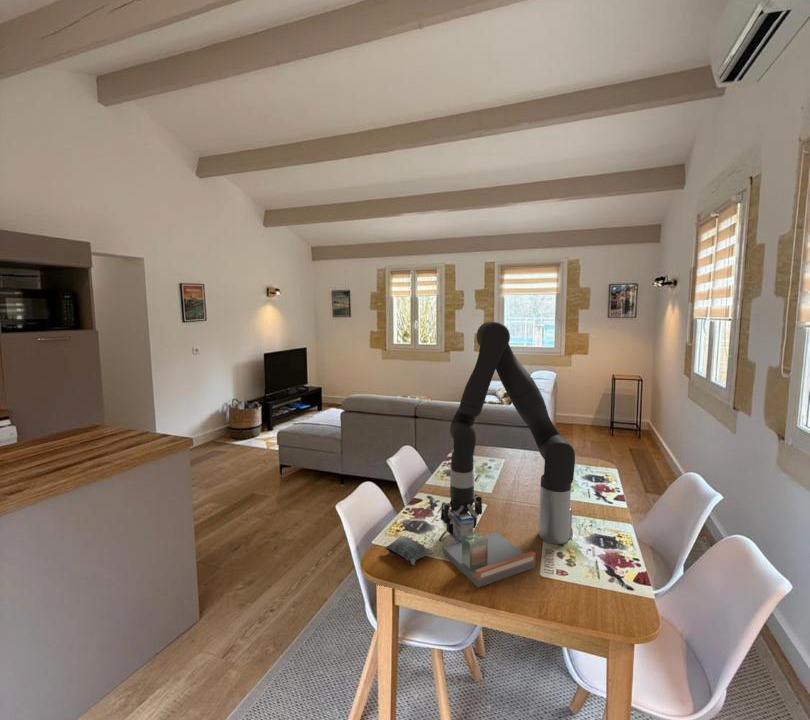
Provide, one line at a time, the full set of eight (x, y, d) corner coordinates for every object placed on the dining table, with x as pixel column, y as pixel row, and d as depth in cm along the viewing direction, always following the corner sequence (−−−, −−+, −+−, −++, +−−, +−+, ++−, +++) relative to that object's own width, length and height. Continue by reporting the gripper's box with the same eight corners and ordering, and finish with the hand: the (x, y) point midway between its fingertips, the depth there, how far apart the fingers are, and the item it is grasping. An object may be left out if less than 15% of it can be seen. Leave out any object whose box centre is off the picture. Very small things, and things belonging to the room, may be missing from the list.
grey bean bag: (405, 543, 139) (405, 529, 139) (432, 559, 131) (432, 543, 130) (384, 554, 133) (384, 539, 133) (411, 571, 125) (411, 555, 124)
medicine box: (450, 533, 145) (450, 508, 144) (461, 530, 147) (462, 506, 145) (461, 545, 138) (461, 519, 137) (473, 542, 139) (474, 517, 138)
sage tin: (479, 557, 127) (479, 532, 126) (487, 565, 124) (488, 539, 123) (461, 563, 125) (462, 537, 124) (470, 571, 121) (470, 544, 120)
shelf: (496, 537, 142) (496, 525, 141) (535, 567, 126) (535, 553, 125) (443, 553, 133) (443, 540, 133) (478, 587, 117) (478, 572, 117)
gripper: (473, 474, 146) (473, 520, 148) (436, 482, 140) (436, 530, 142) (487, 482, 139) (486, 530, 141) (449, 491, 133) (448, 541, 135)
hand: (461, 530), depth 142 cm, fingers open, 8 cm apart
